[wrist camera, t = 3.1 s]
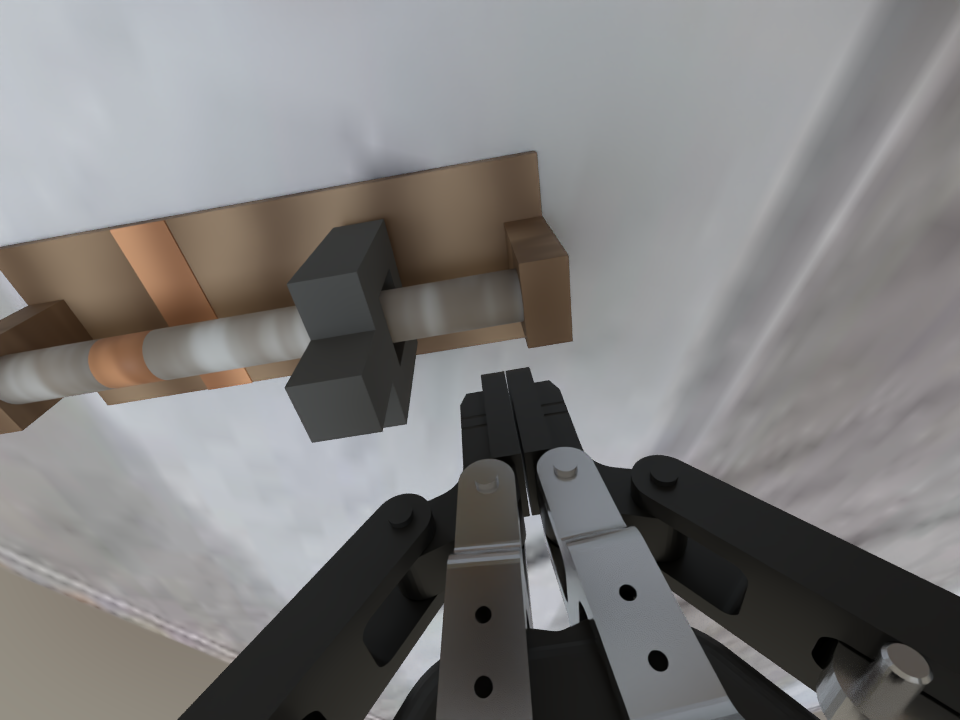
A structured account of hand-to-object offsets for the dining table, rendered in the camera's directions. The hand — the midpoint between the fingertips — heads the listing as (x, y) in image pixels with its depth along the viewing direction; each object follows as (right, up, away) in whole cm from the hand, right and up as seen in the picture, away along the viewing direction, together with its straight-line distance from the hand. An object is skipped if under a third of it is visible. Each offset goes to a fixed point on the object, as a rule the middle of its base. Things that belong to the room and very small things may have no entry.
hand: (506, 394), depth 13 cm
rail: (-11, +5, +11) cm, 17 cm away
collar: (-6, +5, +9) cm, 12 cm away
